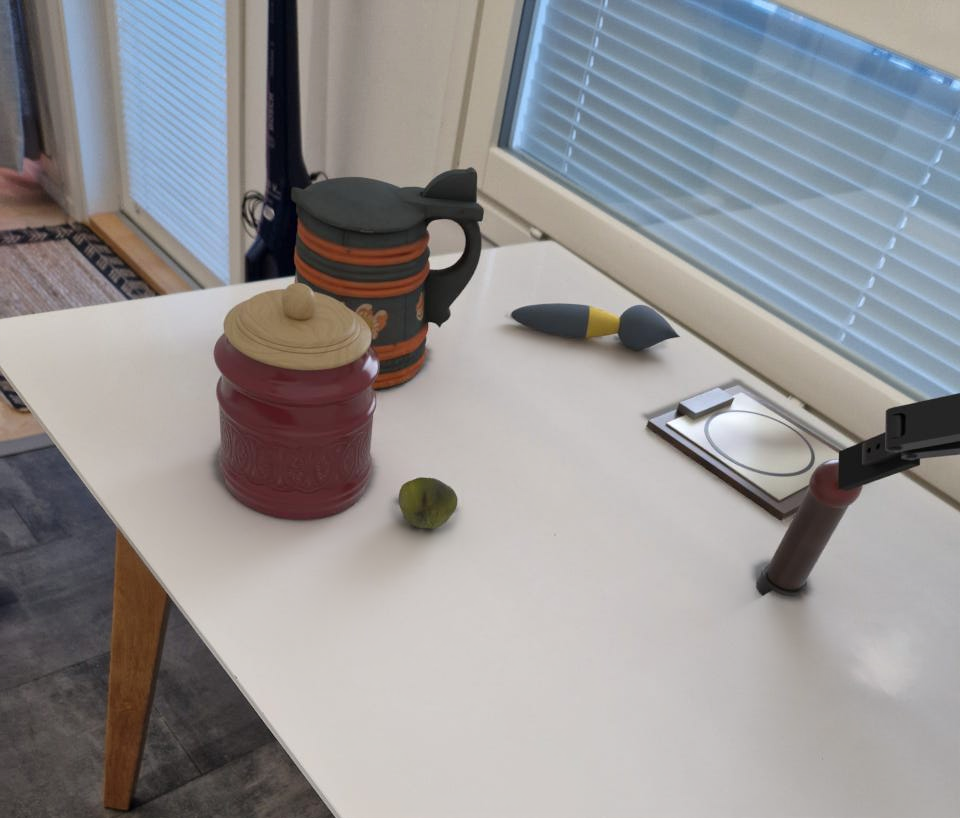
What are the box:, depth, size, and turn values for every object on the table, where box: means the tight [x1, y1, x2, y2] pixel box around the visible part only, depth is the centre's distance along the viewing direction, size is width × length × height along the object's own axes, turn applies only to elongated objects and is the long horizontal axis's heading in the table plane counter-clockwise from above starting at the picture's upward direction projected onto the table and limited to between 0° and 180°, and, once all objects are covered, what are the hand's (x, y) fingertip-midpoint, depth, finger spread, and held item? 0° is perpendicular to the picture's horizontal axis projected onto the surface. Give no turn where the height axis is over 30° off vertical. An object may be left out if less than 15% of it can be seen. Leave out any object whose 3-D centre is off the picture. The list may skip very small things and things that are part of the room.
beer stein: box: [290, 166, 485, 390], centre depth 89 cm, size 19×15×20 cm
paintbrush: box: [510, 302, 681, 351], centre depth 105 cm, size 20×5×5 cm, turn 91°
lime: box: [398, 476, 459, 529], centre depth 76 cm, size 4×5×5 cm
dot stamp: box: [755, 459, 863, 597], centre depth 75 cm, size 4×4×14 cm
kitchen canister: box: [213, 283, 380, 520], centre depth 74 cm, size 13×13×18 cm
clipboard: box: [645, 384, 842, 521], centre depth 95 cm, size 18×16×2 cm
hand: (920, 486), depth 64 cm, fingers open, 13 cm apart
